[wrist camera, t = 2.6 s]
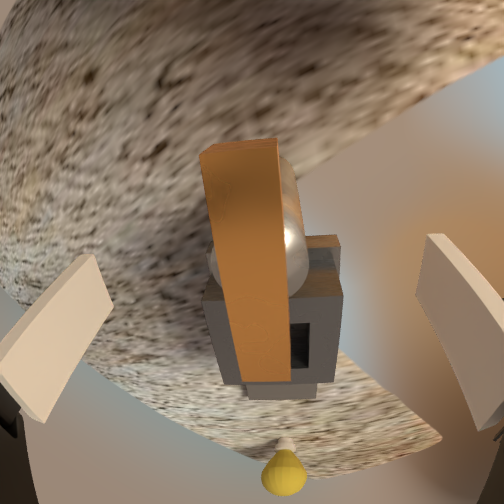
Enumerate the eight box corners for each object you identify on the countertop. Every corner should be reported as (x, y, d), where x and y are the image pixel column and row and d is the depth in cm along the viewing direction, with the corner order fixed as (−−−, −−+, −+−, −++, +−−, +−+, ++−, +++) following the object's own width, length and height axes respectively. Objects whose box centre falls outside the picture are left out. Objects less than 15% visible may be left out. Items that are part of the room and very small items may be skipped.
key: (238, 119, 20) (170, 159, 8) (290, 115, 19) (308, 145, 7) (252, 235, 24) (223, 381, 12) (298, 233, 23) (310, 380, 11)
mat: (238, 337, 29) (237, 344, 29) (319, 335, 28) (320, 342, 28) (249, 393, 34) (249, 399, 33) (315, 391, 33) (315, 398, 32)
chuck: (211, 241, 24) (190, 288, 19) (336, 234, 23) (352, 281, 17) (230, 339, 30) (220, 390, 24) (331, 335, 28) (338, 388, 23)
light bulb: (255, 438, 41) (249, 493, 32) (288, 427, 38) (286, 487, 29) (283, 450, 43) (280, 501, 34) (315, 440, 40) (315, 495, 31)
